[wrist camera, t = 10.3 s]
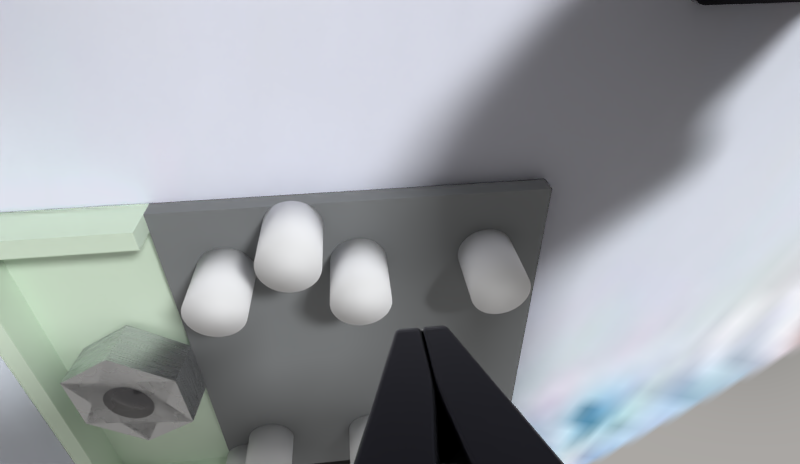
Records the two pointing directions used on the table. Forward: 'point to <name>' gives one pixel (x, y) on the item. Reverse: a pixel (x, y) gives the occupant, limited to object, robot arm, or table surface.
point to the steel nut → (136, 383)
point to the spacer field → (267, 306)
